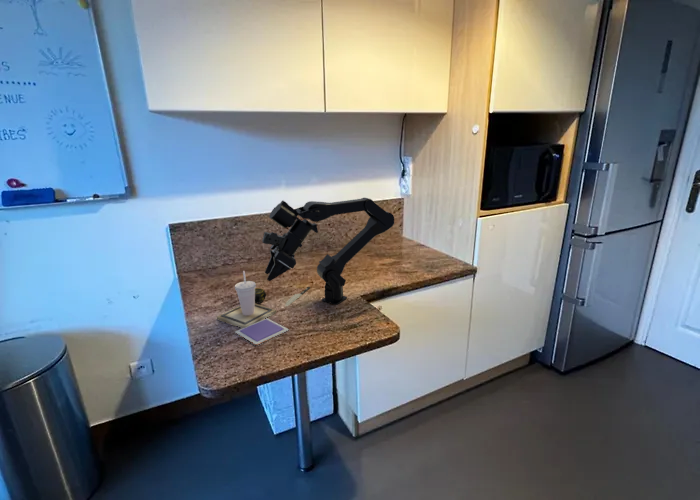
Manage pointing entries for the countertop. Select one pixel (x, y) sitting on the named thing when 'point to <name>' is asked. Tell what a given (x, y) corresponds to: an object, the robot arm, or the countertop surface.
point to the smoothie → (246, 295)
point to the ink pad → (261, 331)
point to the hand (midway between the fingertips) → (267, 276)
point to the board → (246, 316)
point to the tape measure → (259, 295)
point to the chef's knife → (295, 297)
